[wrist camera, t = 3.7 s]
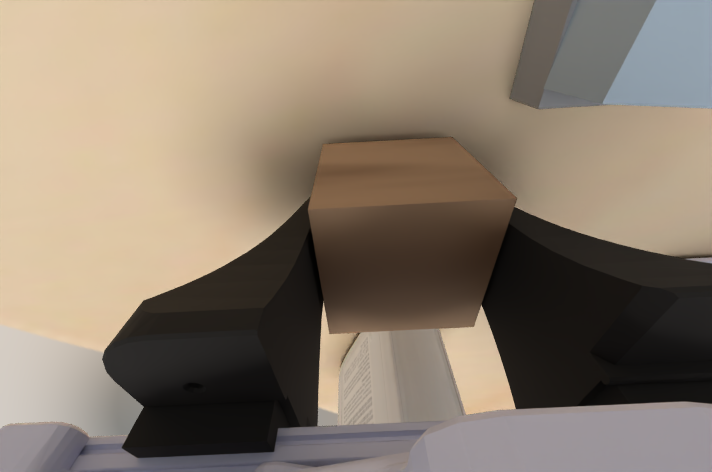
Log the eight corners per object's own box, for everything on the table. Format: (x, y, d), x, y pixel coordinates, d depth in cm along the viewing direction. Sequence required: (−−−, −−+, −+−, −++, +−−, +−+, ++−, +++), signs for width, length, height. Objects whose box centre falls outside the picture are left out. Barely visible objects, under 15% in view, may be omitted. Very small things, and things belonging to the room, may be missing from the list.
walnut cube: (435, 240, 13) (473, 326, 9) (335, 245, 14) (329, 334, 9) (451, 137, 11) (517, 198, 6) (323, 144, 11) (308, 209, 7)
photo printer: (380, 377, 24) (405, 629, 14) (332, 370, 23) (321, 635, 13) (441, 302, 18) (561, 638, 8) (381, 288, 17) (431, 649, 7)
